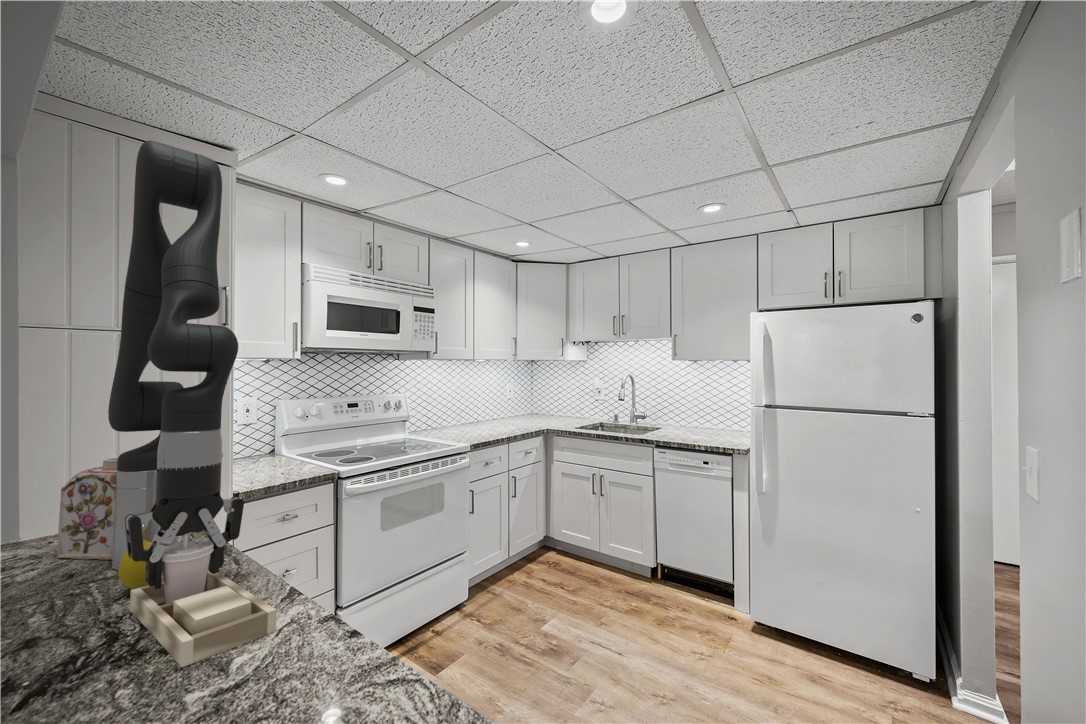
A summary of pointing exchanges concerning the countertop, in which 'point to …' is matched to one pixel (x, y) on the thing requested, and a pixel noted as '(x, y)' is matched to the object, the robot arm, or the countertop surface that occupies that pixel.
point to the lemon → (133, 570)
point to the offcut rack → (208, 641)
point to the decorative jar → (88, 513)
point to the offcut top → (210, 609)
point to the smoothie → (185, 568)
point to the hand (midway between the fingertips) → (185, 579)
